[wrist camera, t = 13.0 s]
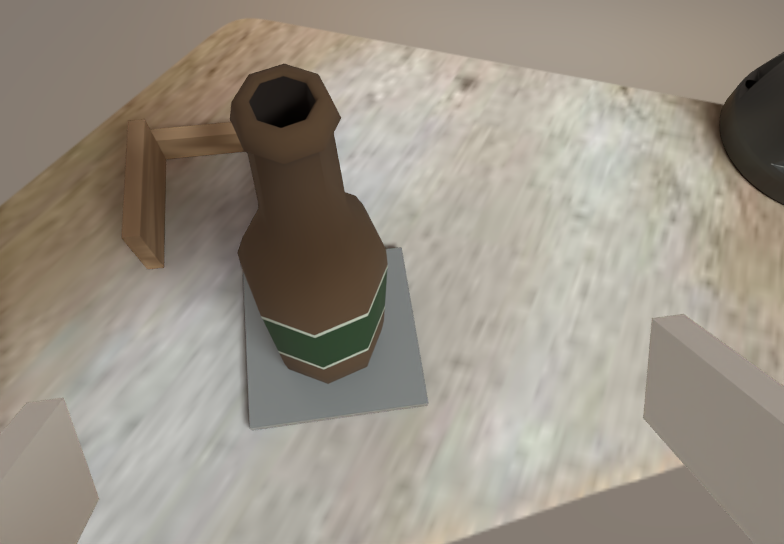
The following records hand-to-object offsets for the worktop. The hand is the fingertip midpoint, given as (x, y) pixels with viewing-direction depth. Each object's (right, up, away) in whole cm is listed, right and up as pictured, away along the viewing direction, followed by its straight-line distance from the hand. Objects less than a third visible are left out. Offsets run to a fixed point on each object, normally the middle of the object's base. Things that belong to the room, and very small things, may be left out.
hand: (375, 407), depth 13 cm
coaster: (-4, -1, +28) cm, 29 cm away
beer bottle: (-4, -1, +28) cm, 28 cm away
